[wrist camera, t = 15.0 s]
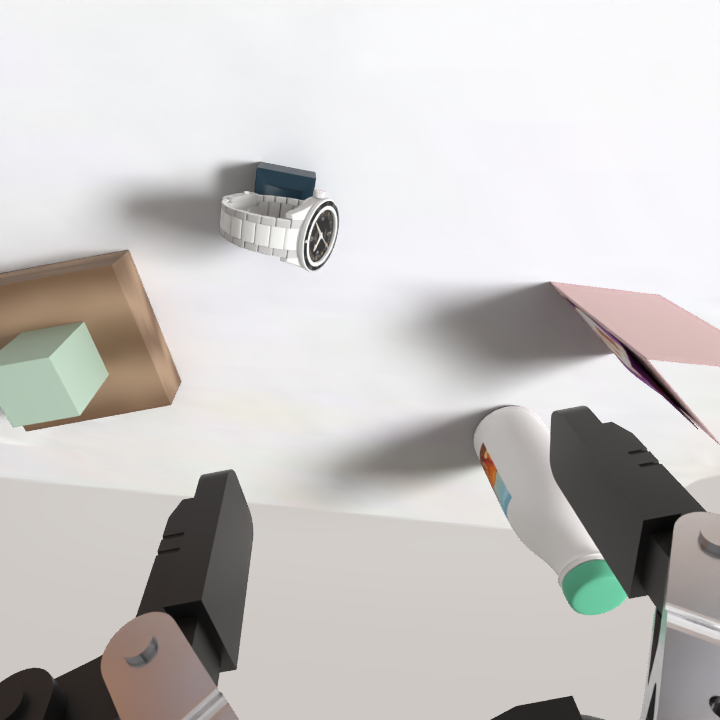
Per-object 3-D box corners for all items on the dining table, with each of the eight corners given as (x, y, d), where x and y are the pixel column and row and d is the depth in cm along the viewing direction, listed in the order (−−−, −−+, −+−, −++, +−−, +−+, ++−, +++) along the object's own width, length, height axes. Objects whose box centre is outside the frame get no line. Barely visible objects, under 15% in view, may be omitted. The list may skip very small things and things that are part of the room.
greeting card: (541, 288, 46) (635, 367, 33) (608, 229, 43) (737, 288, 30) (606, 358, 50) (711, 453, 37) (669, 308, 48) (805, 390, 35)
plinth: (-27, 278, 41) (-58, 295, 37) (128, 250, 41) (111, 264, 37) (47, 406, 47) (26, 431, 43) (181, 381, 47) (170, 404, 43)
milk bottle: (479, 402, 51) (567, 563, 34) (549, 404, 52) (669, 561, 35) (465, 460, 55) (538, 632, 37) (530, 460, 56) (631, 629, 38)
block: (21, 332, 39) (-23, 369, 34) (84, 321, 39) (49, 357, 34) (50, 384, 41) (12, 427, 36) (108, 374, 41) (79, 415, 36)
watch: (328, 244, 42) (334, 289, 32) (232, 227, 40) (208, 270, 31) (339, 175, 39) (349, 203, 30) (237, 155, 38) (213, 177, 28)
